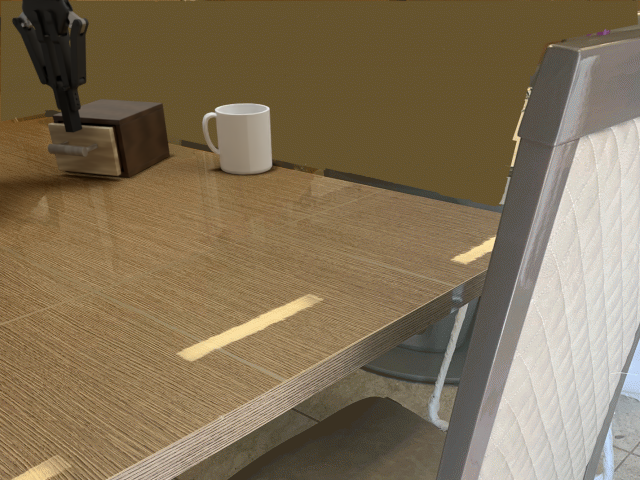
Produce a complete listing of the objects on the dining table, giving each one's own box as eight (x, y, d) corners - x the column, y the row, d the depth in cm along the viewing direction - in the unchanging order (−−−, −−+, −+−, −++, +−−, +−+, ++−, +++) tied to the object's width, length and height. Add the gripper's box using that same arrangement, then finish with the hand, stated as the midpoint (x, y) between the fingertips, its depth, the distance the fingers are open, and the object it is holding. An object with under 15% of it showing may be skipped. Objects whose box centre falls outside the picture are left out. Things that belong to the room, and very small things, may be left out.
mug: (267, 158, 128) (264, 102, 122) (276, 172, 121) (274, 113, 115) (204, 163, 126) (198, 105, 120) (210, 177, 118) (203, 117, 112)
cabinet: (129, 177, 119) (118, 120, 113) (65, 171, 122) (52, 115, 116) (170, 155, 131) (162, 102, 125) (110, 150, 134) (101, 99, 128)
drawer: (102, 183, 112) (92, 135, 108) (41, 177, 115) (29, 130, 111) (157, 155, 127) (151, 112, 122) (102, 150, 130) (94, 108, 126)
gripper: (-15, -36, 96) (29, 133, 111) (58, -36, 93) (93, 138, 107) (18, -37, 102) (56, 123, 116) (88, -37, 99) (118, 128, 113)
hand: (74, 130), depth 112 cm, fingers closed
